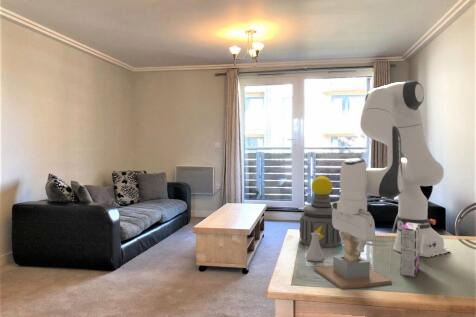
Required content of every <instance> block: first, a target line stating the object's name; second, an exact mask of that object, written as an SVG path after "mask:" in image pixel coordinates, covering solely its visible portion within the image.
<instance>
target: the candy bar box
mask: <svg viewBox="0 0 476 317" xmlns="http://www.w3.org/2000/svg"><path fill="white" fill-rule="evenodd" d="M419 248H420V224H417V223H409V222H406V223H405V225H404V226H403V227H402V229H401V252H400V275H401V276H406V277H410V278H416V277H417V274H418V272H419V269H420V256H419Z"/></svg>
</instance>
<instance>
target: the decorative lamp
mask: <svg viewBox="0 0 476 317" xmlns="http://www.w3.org/2000/svg"><path fill="white" fill-rule="evenodd" d="M311 190H312V192H313V193H314V194H313V197H314V198H312V202H311V204H310V205H306V206H304V207H303V213H301V217H300V218H299V238H300V239H301V243H302V244H304V245H306V246H308V247H310V244H311V240H312V235H311V233H319V234H320V235H319V244H320V247H321V249H322V248H324V249H327V248H336V247H338V246H340V245H341V244H342V243H341V237H340V234H339V230H337V229H335V228H334V227H333V225H332V211H333V208H332V203H331V198H330V194H331V192H332V191H333V183H332V181H331V180H330V178H328V177H326V176H324V175H321V176H318V177H315V178H314V179H313V181H312V183H311Z"/></svg>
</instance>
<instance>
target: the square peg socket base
mask: <svg viewBox="0 0 476 317" xmlns="http://www.w3.org/2000/svg"><path fill="white" fill-rule="evenodd" d="M332 258H333V262H332V265H323V266H321V265H320V266H314V269H313V270H314V271H315V272H316V273H318V274H320V276H322V277H324V278H326V279H327V280H328V281H329V282H331V283H332V284H333V285H335V286H336V287H337V288H339V289H341V290H348V289H357V288H366V287H373V286H383V285H385V286H386V285H392V280H391V279H389V278H387V277H385V276H383V275H382V274H380V273H378V272H376V271H374V270H373V269H371V266H370V265H371V261H369V260H367V259H366V258H363V257H361V256H360V257H359V261H356V262H348V261H346V260H344V254H343V255H333V256H332Z"/></svg>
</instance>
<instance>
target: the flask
mask: <svg viewBox="0 0 476 317" xmlns="http://www.w3.org/2000/svg"><path fill="white" fill-rule="evenodd" d="M311 235H312V240H311V244H310V246H308V247H309V248H308V250H307V253H306V254H305V259H306V260H307V261H311V262H323V261H324V260H325V257H324V254H323V250H322V248H321V247H320V244H319V235H320V234H319V233H311Z"/></svg>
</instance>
